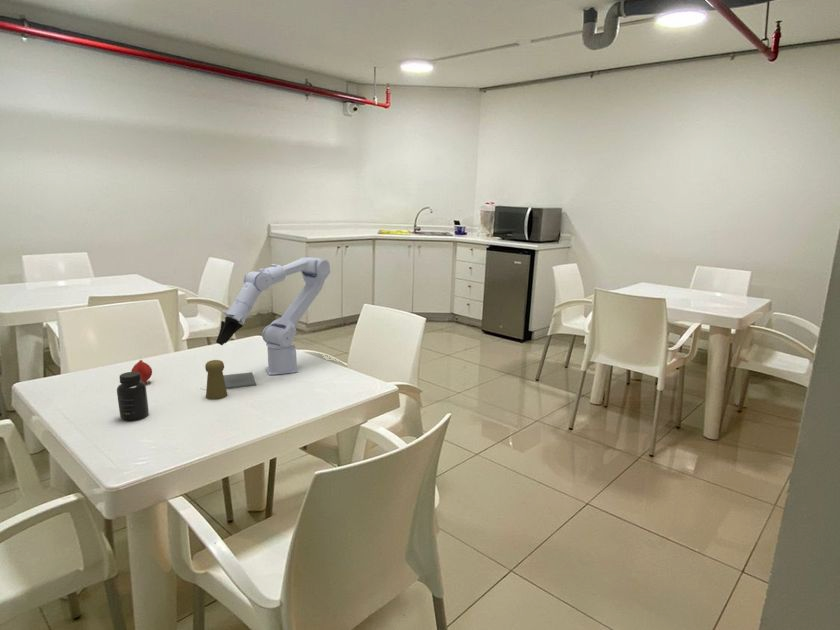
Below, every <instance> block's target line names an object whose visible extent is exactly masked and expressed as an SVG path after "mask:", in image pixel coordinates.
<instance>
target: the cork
mask: <svg viewBox="0 0 840 630" xmlns="http://www.w3.org/2000/svg"><path fill="white" fill-rule="evenodd" d="M224 364H225V363H224V362H223V360H220V359H212V360H209V361H207V362H206V363H205V366H204V367H205V371H206V373H207V378H206V392H205V398H206V399H207V400H211V401H212V400H213V401H214V400H215V401H216V400H221V399H225V398H227V397H228V392H227V391H228V390H227V389H226V386H225V381H224V376H223V375H224V373H223V372H224V369H225V365H224Z"/></svg>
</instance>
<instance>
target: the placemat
mask: <svg viewBox="0 0 840 630" xmlns="http://www.w3.org/2000/svg"><path fill="white" fill-rule="evenodd" d="M223 376H224V381H225V386H226V390H231V389H239V388H245V387H246V388H247V387H254V386H255V387H256V386H257V382H256V379H255V376H254V374H253V372H252V371H251V372H241V373H232V374H223Z"/></svg>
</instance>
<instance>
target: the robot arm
mask: <svg viewBox="0 0 840 630" xmlns="http://www.w3.org/2000/svg"><path fill="white" fill-rule="evenodd" d="M330 266H331V265H330V262H329V261H328V259H326V258H325V257H324V258H320V257H310V256H304V257H300V258H298V259H297V260H294V261H292V262H289V263H287V264H285V265H283V266H282V265H280V264H276V263H271V264H270V266H269V267H265V268H259V270H258V271H249V272H248V273H247V274H244V276H243V283H242V285H241V289H240V291H239V293H238V294H237V296H236V298H235V299H234V300H233V302H232V304H231V306H230V308H229V309H228V310H223V311H222V314H223V315H225V318H224V321H223V320H221V322H220V329H219V332H218V336H217V338H216V342H215V343H216V344H218V345H220V346H223V345H225V344H227V343H228V342H229V340H230V339H231V338H232V337H233V335H235V333H237V331H239V330H240V329H241V328H243V327H244V326H243V325H244V324H245V323H246V322H245V321H246V319H247V318H248V316H249V314H250V313H251V310H252V309H253V307H254V306H255V304H256V302H257V300H258V298H259V297H260V295H261V293H262V291H267V290H268V289H269V288H270V287H271V286H272V285H275V284H278V283H281V282H283V281H285V279H286V276H290V275H293V274H296V273H299V272H300V273H301V276H302V279H303V281H304V282H305V285H304V286H303V287H302V289H301V290H300V292H299V293H298V294H297V296H296V297H295V299H294V300H293V301H292V302H291V303H290V305H289V306H288V307H287V309H286V310H285V312H284V313H283V314H282V315H281V317H279V318H277V319H275V320H273V321H272V322H270V324H269V325H267V326H265V327H264V329H263V331H262V333H261V335H262V340H263V341H264V342H265V344H266V346H267V366H266V367H265V369H266V372H267V373H268V375H269V376H273V375H275V376H276V375H285V374H293V373H294V374H295V373H297V372H298V361H297V348H296V345H295V344H293V342H294V339H295V336H296V334H297V333H298V331H297V329H296V325H297V323H299V321H300V319H302V317H303V316H304V315H305V313H306V312H307V310H308V309H309V307H310V306H311V304H312V303H313V302H314V300H315V299H316V298H317V297H318V294H319V293H320V292H321V291H322V288H323V287H324V283H325V280H326V279H327V278H328V276H329V275H330V274H331V267H330Z"/></svg>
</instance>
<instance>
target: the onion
mask: <svg viewBox="0 0 840 630" xmlns="http://www.w3.org/2000/svg"><path fill="white" fill-rule="evenodd" d="M130 372H139V373H140V377H141V380H140V381H142V382H143V383H145V384H146V382H147V381H149V379H150V378H151V377H152V375H153V369H152V367H151V366H150V364H148V363H146V362H144V361H143V359H140V360H139V361H138V362H136V363H135V365H133V366H132V369H131V371H130Z"/></svg>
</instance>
